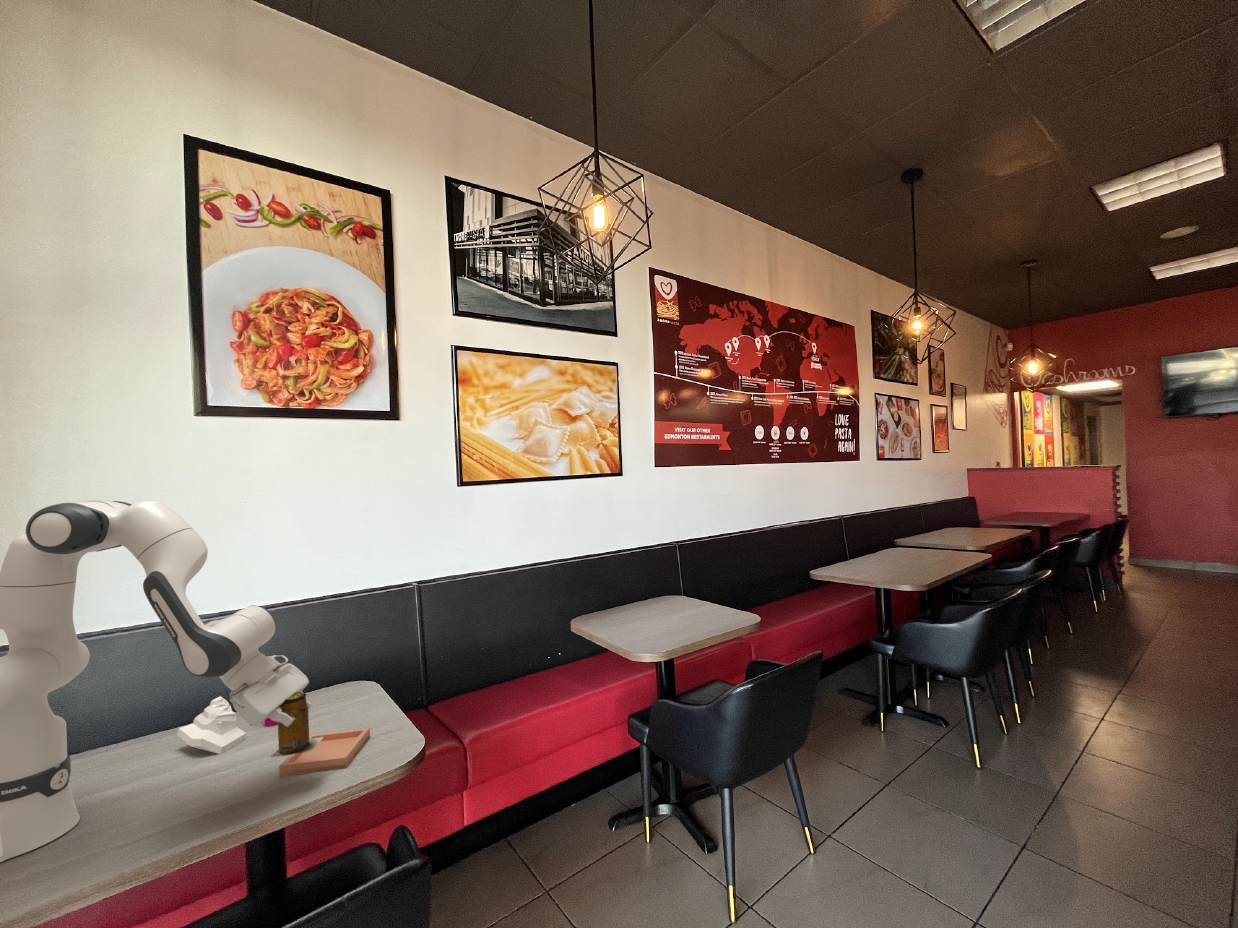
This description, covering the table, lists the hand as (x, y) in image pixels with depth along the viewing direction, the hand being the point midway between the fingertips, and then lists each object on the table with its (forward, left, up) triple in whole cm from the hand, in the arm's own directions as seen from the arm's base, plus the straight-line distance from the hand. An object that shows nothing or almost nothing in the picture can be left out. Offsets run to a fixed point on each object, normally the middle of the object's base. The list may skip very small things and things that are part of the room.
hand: (300, 715), depth 118 cm
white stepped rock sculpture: (-36, +27, -16) cm, 48 cm away
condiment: (-1, 0, -7) cm, 7 cm away
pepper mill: (-26, +39, -16) cm, 50 cm away
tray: (0, +13, -16) cm, 21 cm away
